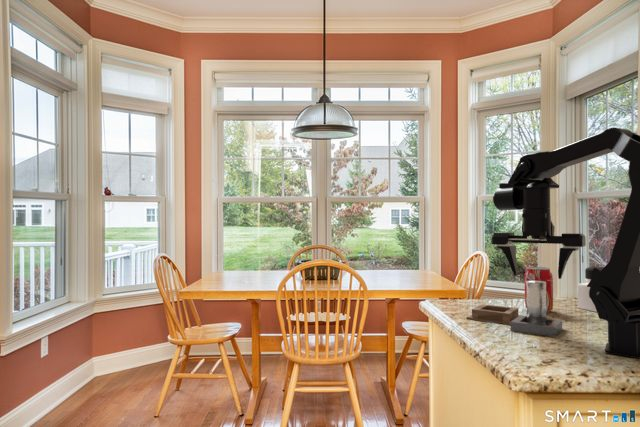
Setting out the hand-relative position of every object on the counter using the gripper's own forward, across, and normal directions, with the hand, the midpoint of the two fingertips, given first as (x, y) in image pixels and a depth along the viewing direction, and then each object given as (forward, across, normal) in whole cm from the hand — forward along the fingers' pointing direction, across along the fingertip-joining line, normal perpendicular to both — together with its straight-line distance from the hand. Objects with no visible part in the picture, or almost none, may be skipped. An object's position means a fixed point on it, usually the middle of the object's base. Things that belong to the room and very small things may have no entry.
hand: (537, 277), depth 98 cm
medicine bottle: (+12, -8, -36) cm, 39 cm away
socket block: (+12, 0, 0) cm, 12 cm away
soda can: (+12, +4, -24) cm, 27 cm away
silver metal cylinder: (+12, 0, 0) cm, 12 cm away
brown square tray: (+12, +11, -7) cm, 18 cm away
